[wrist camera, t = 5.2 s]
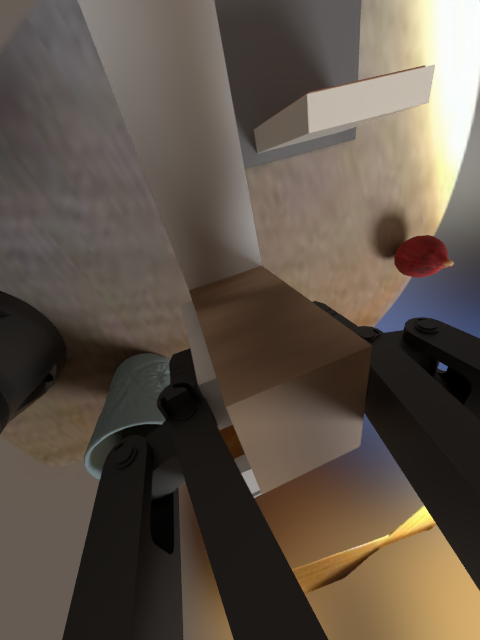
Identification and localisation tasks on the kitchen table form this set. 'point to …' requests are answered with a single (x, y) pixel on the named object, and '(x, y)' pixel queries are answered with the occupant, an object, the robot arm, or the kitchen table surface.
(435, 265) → the onion
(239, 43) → the mat
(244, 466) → the disposable coffee cup
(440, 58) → the kitchen table surface
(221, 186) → the tan l-shaped piece
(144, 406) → the grey-green hollow open cylinder
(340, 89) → the tile
